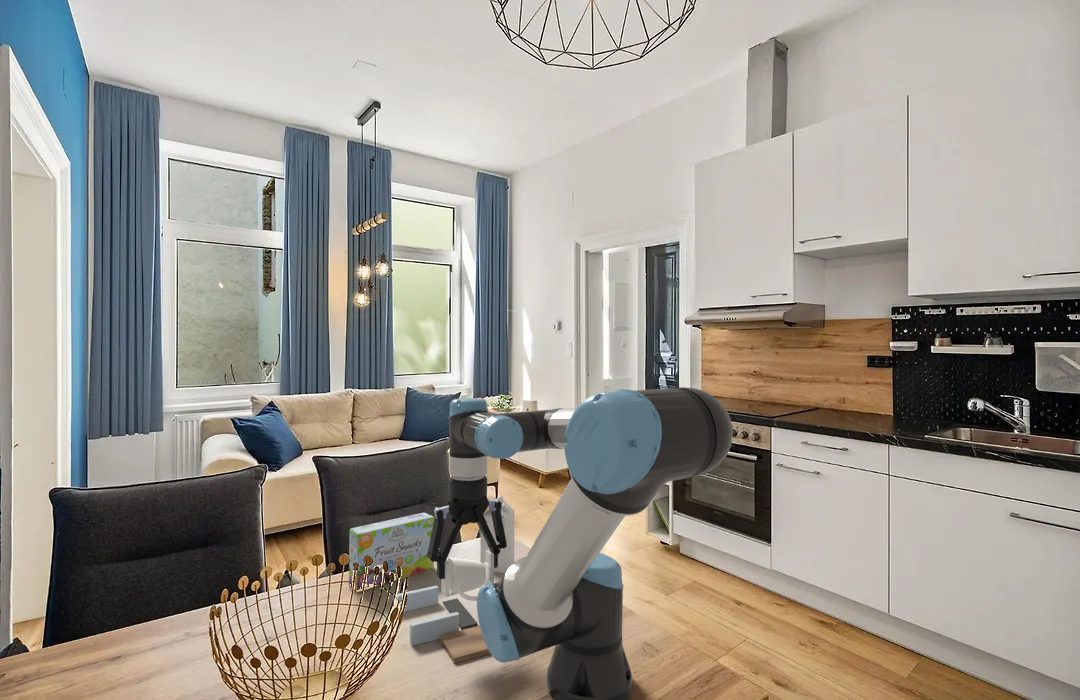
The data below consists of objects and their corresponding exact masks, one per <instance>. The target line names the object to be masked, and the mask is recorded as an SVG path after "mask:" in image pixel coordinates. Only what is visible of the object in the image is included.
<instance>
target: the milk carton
mask: <svg viewBox="0 0 1080 700" xmlns="http://www.w3.org/2000/svg"><path fill="white" fill-rule="evenodd" d="M503 497H504V496H503V494H502V495H500V496H499V497H497V498H496V499H497V500H499V501H500V502H501V503H502V507H501V517H502V522H503V527H504V532H505V537H506V542H507V547H506V548H502V549H500V553H499V554H498V566H497V568H494V573H498V574H499V573H500V574H505V573H506V572H507V570H508V568H509V567H510V566H511V565H512V564H513V563H514V562H515V509H513V508H512V506H510V505H509V504H508V503H507V502H506V500H505V499H504V498H503ZM483 515H484V517H485V520H486V522H487V525H488V527H489V529H490V531H491V533H492V535H493V538H494V540H495V542H497V541H496V536H495V531H494V526H493V520H492V515H491V510H490V509H489V508H487V509H486V511H485V512H484V514H483ZM479 549H480V550H479V551H480V553H479V554H480V561H479V562H481V563H482V564H484V562H485V550H490V548H489V547H488V545H487V543H486V540H485V538H484V536H483V534H482V532H481V531H480V548H479Z"/></svg>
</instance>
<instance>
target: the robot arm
mask: <svg viewBox="0 0 1080 700" xmlns="http://www.w3.org/2000/svg"><path fill="white" fill-rule="evenodd" d="M448 426H449V428H448V430H449V431H448V432H449V434H448V436H449V438H448V440H449V441H448V442H449V444H448V445H449V456H448V457H449V458H448V459H449V460H448V461H449V465H448V466H449V467H448V468H449V470H448V471H449V475H450V476H451V477H450V478H449V479H448V484H449V486H448V488H449V489H448V493H449V494H448V496H449V497H448V503H447V505H445V506H441V507H438V506H435V507H434V508H433V510H432V511H433V516H434V524H433V529H432V534H431V538H430V543H429V548H428V553H427V556H428V558H429V559H430V560H431V561H432V562H434V563H435V562H436V577H437V578H438V579H439V580H441V582H440V583H441V593H442V594H443V596H444V597H445V598H449V597H451V596H450V563H449V562H448V561H447V560H448V558H449V555H450V552H451V550H452V548H453V546H454V542H455V541H456V539H457V536H458V534H459V532H460V530H461V529H462V527H463V526H465V525H468V524H477V526H478V528H479V530H480V533H481V532H482V534H483V536H484V538H485V540H486V543H487V545H488V547H489V548H490V550H485V562H486V563H487V564H488V565H489V567H490V571H491V577H490V581H491V583H489V584H488V585H486V586H485V585H482V587H480V588H479V591H478V593H477V596H476V597H477V601H476V610H477V611H476V612H477V618H478V625H479V626H480V628H481V632H482V635H483V638H484V641H485V643H486V646H487V648H488V650H489V652H490V655H491V656H492V657H493V658H494V660H496V661H498V662H499V663H502V664H503V663H509V662H514V661H517V662H518V661H520V659H522V658H524V657H527V656H529V655H530V656H531V655H533V654H536V653H538V652H541V651H543V650H546V649H549V648H552V647H554V648H553V652H552V655H551V659H550V662H549V664H548V667H547V672H546V683H547V688H548V690H549V691H548V693H549V696H550V697H552V699H553V700H630V698H631V696H632V694H633V674H632V671H631V667H630V664H629V660H628V658H627V655H626V652H625V648H624V645H623V604H624V603H623V596H624V595H623V594H624V593H623V592H624V584H623V572H622V571H623V570H622V566H621V565H620V564H619V562H618V561H617V560H616V559H615V558H612V557H611V556H609V555H606V554H604V553H601V552H602V550H603V548H604V547H605V546H606V544H607V542H608V541H609V540H610V539H611V537H612V536H613V534H614V533H615V531H616V530H617V529H618V527H619V526H620V524H621V523H622V521H623V520H624V518H626V516H634V515H637V514H640V513H642V512H643V511H644V510H645V509H647V507H648V506H649V505H650V503H651V502H652V501H653V499H654V498H655V496H656V495H657V494H658V493H659V491H660V490H661V488H663V486H664V485H665V484H667V483H669V482H674V481H678V480H684V479H688V478H692V477H698V476H701V475H705V474H707V473H709V472H710V471H712V470H713V469H715V468H717V467H718V466H719V465H720V464H721V463H722V462H723V461H724V460H725V459H726V457H727V455H728V453H729V452H730V449H731V446H732V443H733V437H734V436H733V434H734V433H733V424H732V420H731V417H730V415H729V412H728V411H727V409H726V408H725V406H724V405H723V404H722V403H721V402H720V401H719V400H718V399H717V398H716V397H715V396H713V394H710V393H708V392H706V391H705V390H701V389H698V388H695V387H694V388H693V387H685V386H683V387H671V388H655V389H643V390H642V389H640V390H633V389H627V388H623V389H621V388H620V389H613V390H610V391H607V392H600V393H596V394H593V395H590V396H589V397H588V398H586V399H584V400H583V401H582V402H580V403H579V405H577V407H575V408H573V407H572V408H551V409H542V410H533V411H532V410H531V411H529V410H527V411H516V412H515V411H513V412H503V413H502V412H501V413H500V412H499V413H491V412H489V409H488V403H487V400H486V399H485V398H480V397H479V398H477V397H462V398H460V397H459V398H454V399H452V400H451V402H450V403H449V415H448ZM551 449H552V450H554V449H555V450H564V456H565V461H566V464H567V467H568V471H569V475H570V480H569V482H568V484H567V485H566V487H565V489H564V491H563V492H562V494H561V496H560V498H559V499H558V501H557V503H556V504H555V506H554V508H553V510H552V511H551V513H550V515H549V516H548V519H547V520H546V522H545V524H544V525H543V527H542V529H541V530H540V532H539V534H538V536H537V538H536V539H535V541H534V542H533V545H532V546H531V548H530V550H529V551H528V553H527V555H526V556H524V557H521V558H519V559H517V560H514V563H513V564H512V565H511V566H510V567H509V568H508V570H507V572H506V573H504V576H503V577H502V579H501V580H500V581H497V582H495V572H494V568H497V566H498V554H499V553H500V549H502V548H506V547H507V542H506V537H505V532H504V527H503V522H502V517H501V507H502V503H501V502H500V501H499V500H497V498H493V499H489V498H488V496H487V495H488V477H487V476H486V475H487V474H488V457H491V459H498V460H499V459H500V460H506V459H510V458H511V457H513V456H515V455H516V454H517V453H522V452H531V451H537V450H539V451H540V450H551ZM488 509H490V510H491V515H492V520H493V526H494V531H495V536H496V541H497V542H495V540H494V538H493V535H492V533H491V531H490V529H489V527H488V525H487V522H486V520H485V517H484V515H483V514H484V513H485V512H486V511H487V510H488ZM448 513H449V514H450V515H451V518H450V519H449V524H448V525H449V526H448V527H447V531H446V533H445V535H444V537H443V539H442V536H443V532H444V526H445V524H444V523H445V519H447V514H448ZM441 540H442V542H441Z"/></svg>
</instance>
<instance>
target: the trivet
mask: <svg viewBox="0 0 1080 700" xmlns="http://www.w3.org/2000/svg"><path fill="white" fill-rule="evenodd" d="M438 640H439V643H440V644H441V646H442V647H443V649H444V651H445V652H446V653H447V655H448V656H449V658H450V659H451V661H452V663H453V665H455V664H458V663H462V662H465V661H468V660H472V659H476V658H480V657H483V656H486V655H489V654H490V655H491V653H490V652H489V650H488V648H487V646H486V643H485V641H484V638H483V635H482V632H481V628H480V625H478V626H474V627H470V628H466V629H459V631H457V632H453V633H449V634H445V635H441V636H439V639H438Z"/></svg>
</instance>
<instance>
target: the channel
mask: <svg viewBox="0 0 1080 700" xmlns="http://www.w3.org/2000/svg"><path fill="white" fill-rule="evenodd" d="M406 592H407V596H408V597H407V603H406V607H405V611H404V612H403V613H405V612H408V611H412V610H416V609H417V610H418V609H421V608H425V607H426V608H427V607H430V606H434V605H438V604H439V587H438V585H433V586H429V587H424V588H420V589H415V590H410V591H406ZM403 593H404V592H401V593H396V594H397V597H398V600H399V602H402V594H403ZM394 595H395V594H393V595H392V596H393V599H392V600H393V601H392V602H393V603H392V605H393V604H394ZM457 631H460V627H459V614H458V612H455V613H447V614H444V615H438V616H434V617H431V618H430V617H429V618H426V619H422V620H417V621H414V622H411V623H409V645H410V646H411V647H414V646H416V645H417V646H418V645H420V644H425V643H429V642H432V641H436V640H439V636H441V635H445V634H449V633H453V632H457Z"/></svg>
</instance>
